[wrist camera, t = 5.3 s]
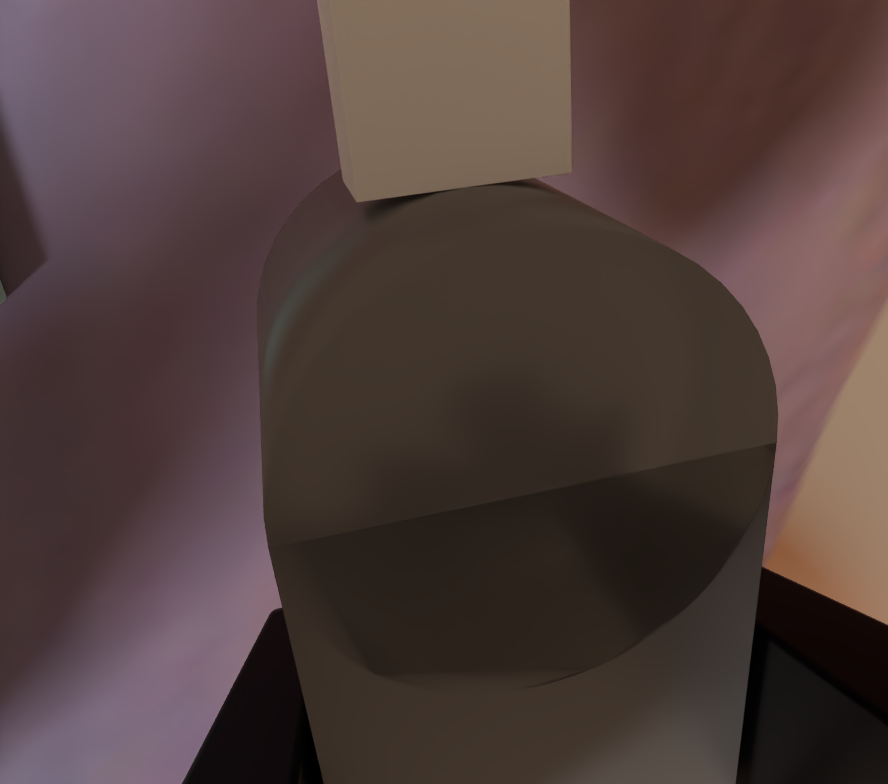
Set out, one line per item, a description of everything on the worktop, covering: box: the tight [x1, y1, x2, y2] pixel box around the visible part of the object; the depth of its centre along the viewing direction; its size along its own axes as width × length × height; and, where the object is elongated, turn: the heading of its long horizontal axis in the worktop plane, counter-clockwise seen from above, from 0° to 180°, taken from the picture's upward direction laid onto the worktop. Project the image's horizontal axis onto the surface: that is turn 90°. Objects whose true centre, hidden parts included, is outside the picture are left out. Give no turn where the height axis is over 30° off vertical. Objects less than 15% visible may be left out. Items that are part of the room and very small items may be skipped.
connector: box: [257, 0, 778, 784], centre depth 8 cm, size 12×4×4 cm, turn 5°
